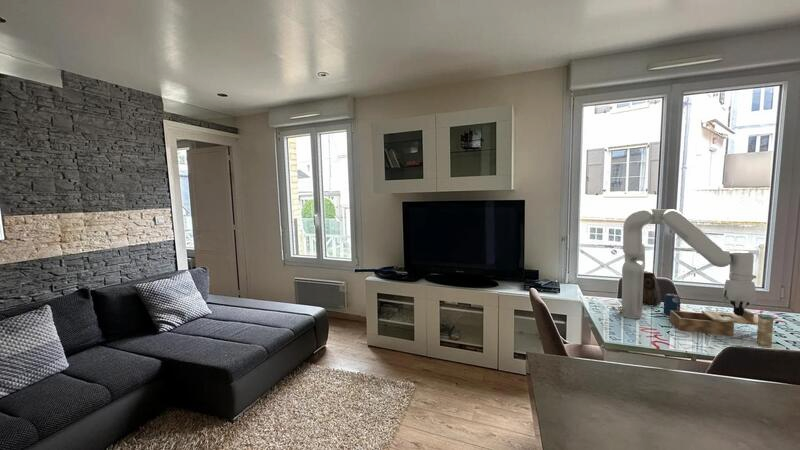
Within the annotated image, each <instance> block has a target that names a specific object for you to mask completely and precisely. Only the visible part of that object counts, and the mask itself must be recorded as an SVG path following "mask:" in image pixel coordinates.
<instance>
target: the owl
mask: <svg viewBox="0 0 800 450" xmlns="http://www.w3.org/2000/svg"><path fill="white" fill-rule="evenodd" d="M658 283H659V282H658V279H657V277H656V275H655V273H653V272H650V271H648V270H644V275H643V304H644V303H645V304H644V305H646V304H648V306H651V305H653V306H652V307H658V306H659V305H661V304H660V303H662V295H661V290H660V286H659V284H658Z"/></svg>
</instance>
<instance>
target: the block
mask: <svg viewBox="0 0 800 450" xmlns="http://www.w3.org/2000/svg"><path fill="white" fill-rule="evenodd" d="M757 317H758V325H757V330H756V331H757V332H756V333H757V334H756V344H758V345H759V346H761V347H765V348H768V349H769V348H771V349H772V343H773V330H774V320H775V317H773V316H771V315H770V314H762V313H758V314H757Z"/></svg>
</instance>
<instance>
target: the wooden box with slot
mask: <svg viewBox="0 0 800 450" xmlns="http://www.w3.org/2000/svg"><path fill="white" fill-rule="evenodd" d="M724 318H726V317H724ZM669 322H670V323H671V325H673V326H674V328H676V329H677V330H678V331H681V332H691V333H699V334H700V333H701V334H709V335H711V334H712V335H719V336H727V337H728V336H729V337H734V336H735V335H734V334H735V333H734V331H735V323H729V322H718V321H713V320H712V319H710V318H709V317H707V316H706V315H704V314H703V313H702V312H694V311H693V312H692V311H682V310H680V311H672V310H670V315H669Z"/></svg>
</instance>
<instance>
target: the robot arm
mask: <svg viewBox="0 0 800 450" xmlns="http://www.w3.org/2000/svg"><path fill="white" fill-rule="evenodd" d="M646 225H659V226H660V225H665V226H666V227H667V228H668V229H670V231H672V232H673V233H674V234H676V235H677V236H678V237H679V238H680V239H681V240H682V241H684V242H685V243H686V244H687V245H688V246H690V248H692V249H694V250H695V251H696V252H697V253H698V254H699V255H700V256H702V257H703V258H704V259H705V260H706V261H707V262H708V263H710V264H711V265H712V266H714V267H718V268H725V267H727V266H729V274H728V275H729V276H728V278H726V280H725V282H724V286H723V291H722V297H723V298H724V299H723V302H725V303H728V304H731V305H732V307H733V312H732V313H734V314H735V315H737V316H743V314H744V309H746V307H747V306H750V305H755V304H756V299H757V290H756V285H755V281H754V279H757V275H754V262H755V261H754V260H755V259H754V258H755V255H754V253H753V252H752V251H746V250H728V249H722V248H721V247H720V246H719V245H718V244H716V243H715V242H714V241H713V240H712V239H711V238H709V236H708V235H707V234H706V233H705V232H704V231H703V230H702V229H701V228H700V227H698V226H697V225H695V224H694V223H693V222H692V221H690V219H688V218H687V217H686V216H685V215H683V214H682V213H681V212H680V211H679V210H676V209H664V208H663V209H662V208H659V209H658V208H641V209H639V210H637V211H636V210H635V212H633V213H631V214H630V215H628V216H627V218H626V219H625V220H624V222H623V225H622V227H623V229H622V241H623V242H622V251H623V254H624V263H623V265H622V268H621V276H622V277H621V278H622V279H621V304H619V306H614V305H612V306H611V307H610V308H611V310H612V311H613V310H614V311H615V312H617V314H618V315H619V314H620V315H619V316H621V317H623V316H624V318H627V319H632V320H641V318H643V319H644V318H645V317H647V316H646V313H643V304H644V303H643V275H644V271H645V269H646V246H645V244H644V243H643V228H644V226H646Z"/></svg>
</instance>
